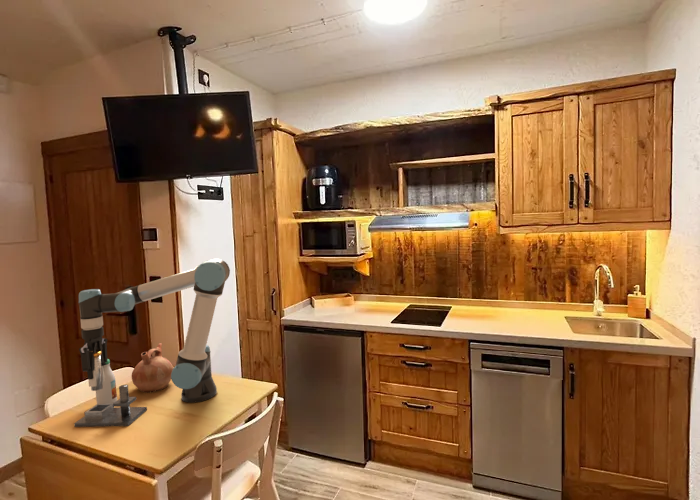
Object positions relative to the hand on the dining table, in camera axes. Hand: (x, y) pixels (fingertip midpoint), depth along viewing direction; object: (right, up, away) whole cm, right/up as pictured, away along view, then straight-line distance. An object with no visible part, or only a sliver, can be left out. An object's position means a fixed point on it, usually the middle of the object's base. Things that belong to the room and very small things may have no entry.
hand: (96, 383), depth 159 cm
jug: (+8, -13, +31) cm, 34 cm away
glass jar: (0, -2, 0) cm, 2 cm away
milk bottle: (-5, -14, +14) cm, 21 cm away
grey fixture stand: (+6, -15, +1) cm, 16 cm away
